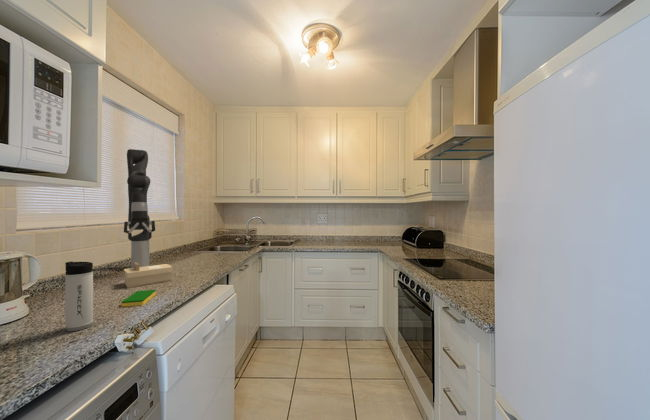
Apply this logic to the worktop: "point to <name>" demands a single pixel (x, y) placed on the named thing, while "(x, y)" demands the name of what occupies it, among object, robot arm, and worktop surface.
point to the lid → (147, 270)
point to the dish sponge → (138, 298)
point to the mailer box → (147, 279)
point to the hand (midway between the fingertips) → (140, 239)
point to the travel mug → (78, 295)
